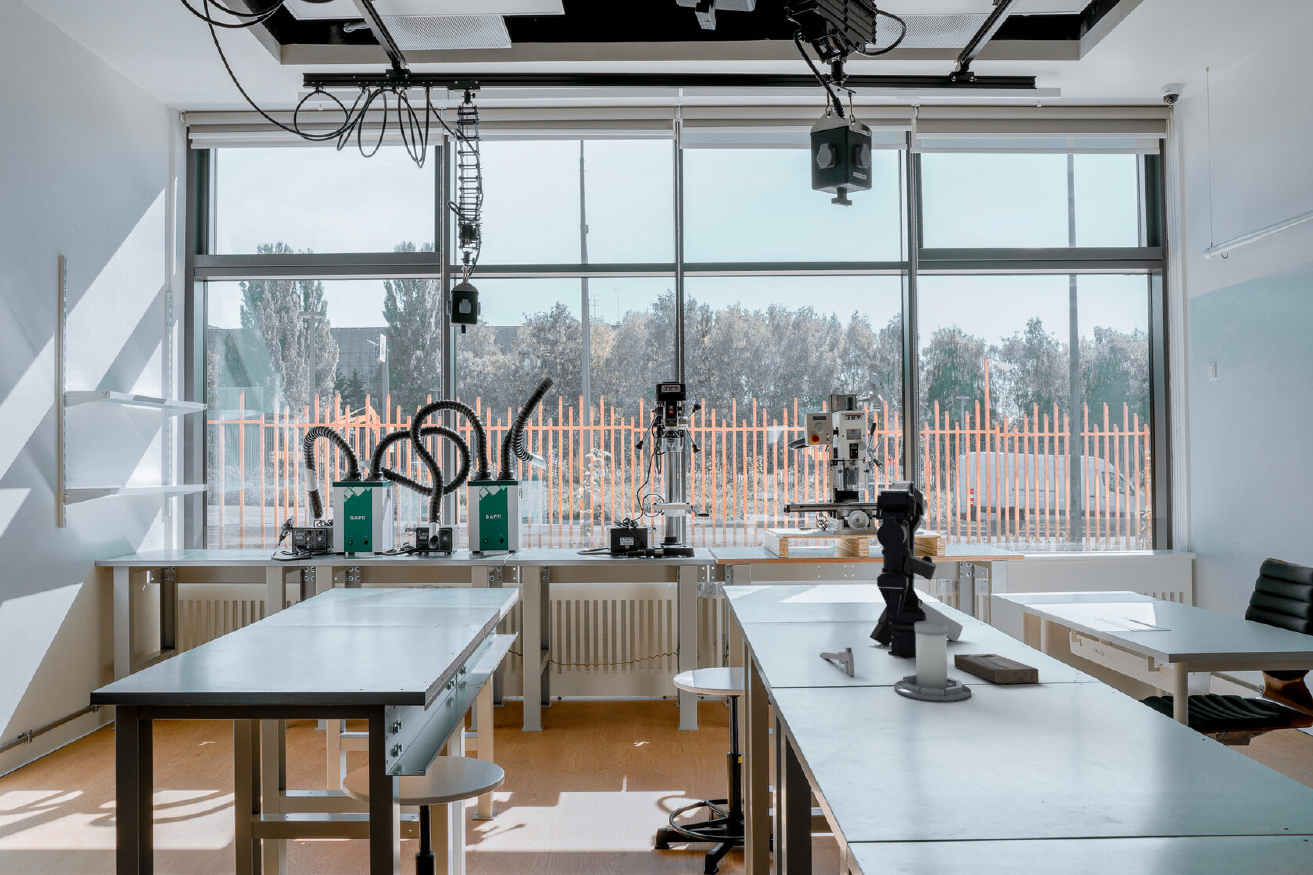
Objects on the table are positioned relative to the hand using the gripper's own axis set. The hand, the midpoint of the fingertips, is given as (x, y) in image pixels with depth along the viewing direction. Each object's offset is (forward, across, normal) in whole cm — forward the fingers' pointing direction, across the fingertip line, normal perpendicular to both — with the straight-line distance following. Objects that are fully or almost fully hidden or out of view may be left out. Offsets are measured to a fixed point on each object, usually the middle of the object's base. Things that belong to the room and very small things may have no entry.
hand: (897, 614), depth 186 cm
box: (+14, +6, -20) cm, 25 cm away
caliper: (+14, +2, +14) cm, 20 cm away
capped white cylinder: (+12, -13, -8) cm, 20 cm away
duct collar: (+13, -13, -8) cm, 20 cm away
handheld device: (+13, +34, -1) cm, 37 cm away
